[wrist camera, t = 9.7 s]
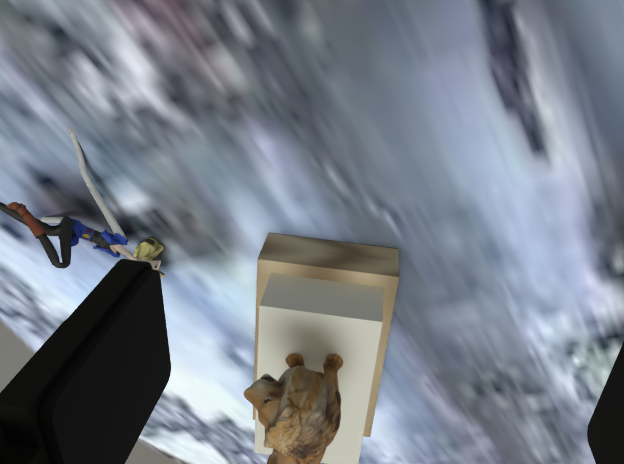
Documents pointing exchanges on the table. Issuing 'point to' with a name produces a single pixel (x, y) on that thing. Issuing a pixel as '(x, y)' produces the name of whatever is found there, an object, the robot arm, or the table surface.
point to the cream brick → (323, 346)
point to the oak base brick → (335, 267)
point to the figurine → (82, 228)
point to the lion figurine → (298, 410)
